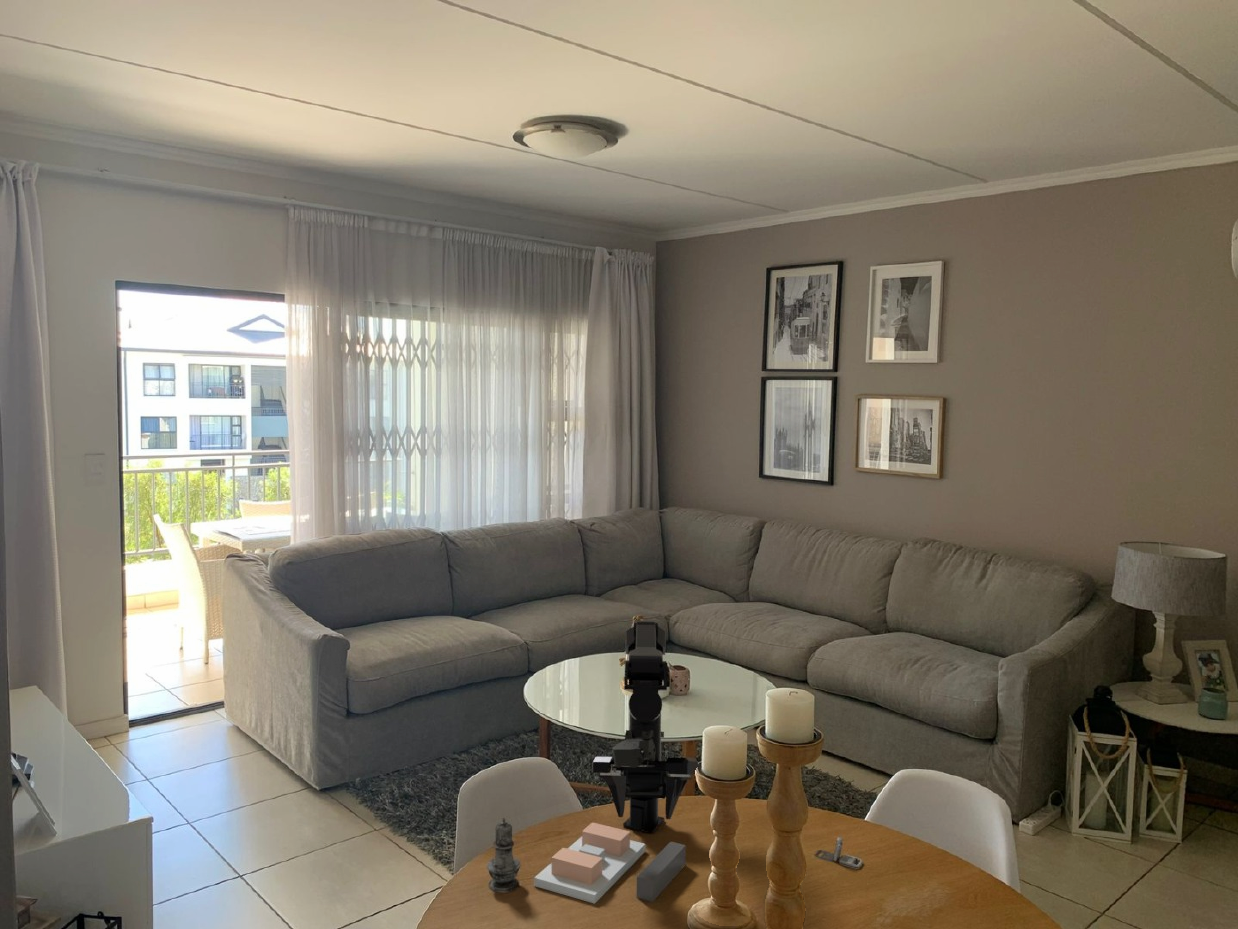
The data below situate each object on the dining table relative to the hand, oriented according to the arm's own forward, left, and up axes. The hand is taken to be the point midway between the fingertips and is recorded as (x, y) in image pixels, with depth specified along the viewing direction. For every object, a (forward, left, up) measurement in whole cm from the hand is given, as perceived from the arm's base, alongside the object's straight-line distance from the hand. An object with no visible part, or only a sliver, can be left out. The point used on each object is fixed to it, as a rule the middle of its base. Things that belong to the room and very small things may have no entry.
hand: (644, 818), depth 158 cm
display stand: (-1, -11, -12) cm, 16 cm away
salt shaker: (+11, -22, -12) cm, 27 cm away
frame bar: (-3, +2, -12) cm, 13 cm away
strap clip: (-25, +28, -13) cm, 40 cm away
